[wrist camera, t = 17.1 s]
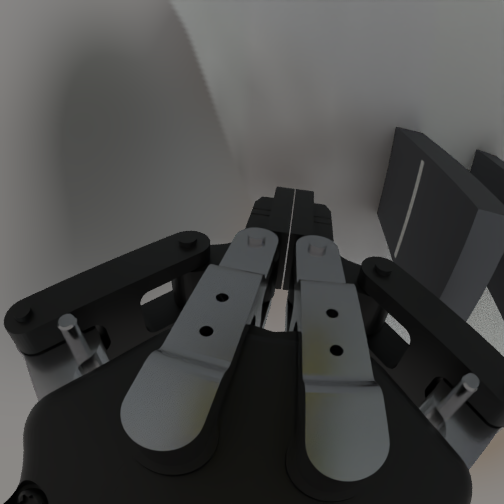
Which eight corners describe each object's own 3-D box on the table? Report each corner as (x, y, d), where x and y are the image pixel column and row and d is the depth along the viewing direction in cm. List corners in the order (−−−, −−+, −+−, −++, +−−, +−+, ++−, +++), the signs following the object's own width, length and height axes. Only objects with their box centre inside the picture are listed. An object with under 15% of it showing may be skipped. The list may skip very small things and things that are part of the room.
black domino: (423, 133, 16) (518, 220, 7) (401, 217, 20) (451, 346, 11) (395, 126, 16) (477, 208, 8) (376, 213, 20) (413, 343, 11)
